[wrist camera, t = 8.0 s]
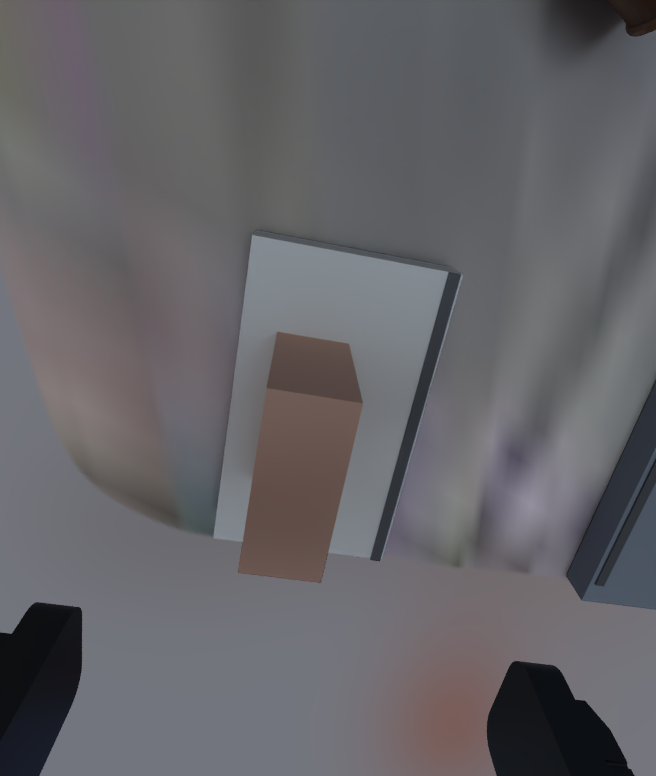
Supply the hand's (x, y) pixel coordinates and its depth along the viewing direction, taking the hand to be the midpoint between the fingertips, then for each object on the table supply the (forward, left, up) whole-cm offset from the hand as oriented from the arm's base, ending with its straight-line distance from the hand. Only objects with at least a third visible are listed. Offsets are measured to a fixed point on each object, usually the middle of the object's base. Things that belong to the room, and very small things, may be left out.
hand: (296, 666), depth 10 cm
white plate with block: (-1, 0, -12) cm, 12 cm away
